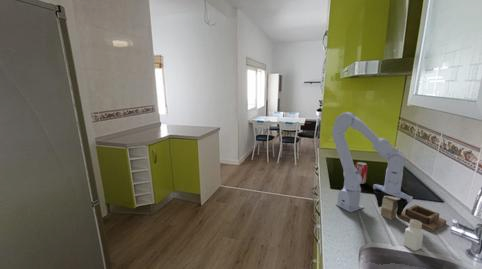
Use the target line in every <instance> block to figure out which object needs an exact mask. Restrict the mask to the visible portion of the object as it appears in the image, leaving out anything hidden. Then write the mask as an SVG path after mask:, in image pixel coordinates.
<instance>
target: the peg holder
mask: <svg viewBox="0 0 482 269" xmlns="http://www.w3.org/2000/svg"><path fill="white" fill-rule="evenodd" d="M396 217H398V218H399V219H402V220H404V221H406V222H408V223H410V220H411V219H415V220H418V221H420V222H421V223H422V227H421V229H423V230H426V231H427V232H430V233H432V232H434V231H436V230H438V229H439V228H441V227H443V226H445V225H446V224H447V221H448V220H447V219H444V218H441V217H440V213H439V212H436V211H433V210H431V209H429V208H426V207H423V206H421V205H418V204H414V205H411V206H410V207H408V208H405V210H404V209H403V211H402V213H401V215H399V216H398V215H397V214H396Z"/></svg>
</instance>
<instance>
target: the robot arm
mask: <svg viewBox="0 0 482 269" xmlns="http://www.w3.org/2000/svg"><path fill="white" fill-rule="evenodd" d="M349 128H350V129H352V130H357V131H358V132H360V133H361V134H362V135H363V137H365V138H367V140H368V141H370V142H371V143H372V144H371V145H372V148H373V149H374V150H375V152H377V154H379V155H380V156H381V157H382V158H383V159H385V160H386V162H387V167H386V170H385V178H384V184H383V185H382V184H381V185H380V184H378V183H375V184H373V185H372V188H373V190H374V191H373V194H374V196H375V199H376V203H377V207H378V208H382V201H383V198H384V197H385V195H386V194H388V195H389V196H393V197H396V198H398V199H397V213H396V216H397V215H398V216H399V215H401V213H402V211H404V209H406V207H407V206H408V204H409V203H412V202H413V198H414V197H413V196H412V195H408V194H406V193H404V192H403V191H401V188H402V184H403V183H402V182H403V175H404V171H403V170H404V167H405V165H406V160H405V156H404V154H403V152H401V151H400V150H399V149H398V148H395V147H394V146H393V145H392V144H391V141H390V140H389V139H386V138H385V137H379V136H378V135H377V134H376V133H375V131H373V130H372V129H370V127H369V126H368V125H367V124H366V123H365V122H364V121H363V120H362V119H361V118H359V117H358V116H357V115H355V114H354V113H353V112H350V111H346V112H345V111H344V112H343V113H342V112H341V113H340V114H338V116H337V117H336V118H335V119H334V124H333V127H332V130H331V136H332V138H333V139H332V140H333V141H334V142H333V143H334V144H335V149H336V152H337V155H338V158H339V160H340V163H341V167H342V170H343V179H344V181H343V188H342V189H341V190H339V192H338V193H337V203H335V205H336V206H337V207H339V208H342V209H343V210H345V211H347V212H349V213H353V212H356V211H359V210H361V209H363V208H364V206H363V205H361V204H360V203H361V193H362V187H361V184H360V183H361V181H362V177H361V175H360V174H359V173H358V171H357V169H356V167H355V166H356V165H355V164H354V161H353V157H352V153H351V151H350V148H349V145H348V141H347V139H346V136H345V133H346V131H347V130H348V129H349Z"/></svg>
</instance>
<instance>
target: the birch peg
mask: <svg viewBox="0 0 482 269" xmlns="http://www.w3.org/2000/svg"><path fill="white" fill-rule="evenodd" d="M397 200H398V199H397V198H394V197H392V196H391V195H387V196H384V198H383V201H382V206H381V209H380V210H381V211H380V216H382V217H384V218H386V219H388V220H391V221H392V220H393V219H395V218H396V217H397Z"/></svg>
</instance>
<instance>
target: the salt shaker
mask: <svg viewBox="0 0 482 269" xmlns="http://www.w3.org/2000/svg"><path fill="white" fill-rule="evenodd" d="M408 224H409V225H408V226H407V227H406V228H405V230H404V234H403V235H404V236H403V241H402V242H403V243H402V244H403V245H404V247H406V248H408V249H410V250H412V251H414V252H417V251H418V250H420V249H421V250H422V246H423V245H422V244H423V240H424V232H423V231H422V230H421V229H422V228H421V227H422V223H421V222H420V221H418V220H415V219H411V220H410V222H408Z"/></svg>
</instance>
